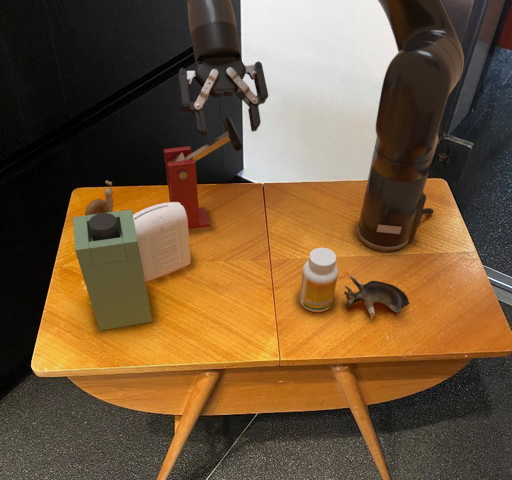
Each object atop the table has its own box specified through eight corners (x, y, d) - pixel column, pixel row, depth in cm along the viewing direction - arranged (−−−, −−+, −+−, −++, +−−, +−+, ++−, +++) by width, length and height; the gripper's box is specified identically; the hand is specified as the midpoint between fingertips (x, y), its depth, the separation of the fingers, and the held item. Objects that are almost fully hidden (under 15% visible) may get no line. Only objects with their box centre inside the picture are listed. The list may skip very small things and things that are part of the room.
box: (146, 290, 88) (131, 209, 76) (152, 322, 84) (137, 241, 72) (96, 298, 87) (72, 217, 75) (99, 331, 83) (74, 250, 70)
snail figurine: (133, 244, 95) (122, 186, 86) (108, 265, 92) (94, 206, 83) (110, 233, 97) (96, 174, 88) (84, 253, 94) (67, 194, 84)
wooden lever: (234, 124, 91) (227, 113, 90) (245, 150, 86) (238, 138, 85) (173, 161, 94) (165, 151, 92) (180, 188, 89) (172, 178, 87)
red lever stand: (204, 210, 102) (200, 143, 91) (210, 231, 98) (207, 162, 88) (161, 216, 101) (152, 148, 90) (166, 237, 97) (157, 168, 86)
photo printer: (183, 251, 95) (176, 190, 85) (195, 265, 92) (190, 205, 83) (128, 273, 91) (115, 212, 81) (140, 288, 88) (127, 227, 79)
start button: (119, 229, 76) (115, 211, 74) (121, 246, 74) (117, 227, 71) (92, 233, 75) (87, 214, 73) (94, 250, 73) (89, 231, 71)
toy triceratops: (351, 328, 82) (411, 319, 82) (346, 282, 80) (407, 272, 80) (345, 315, 90) (400, 306, 89) (340, 273, 88) (396, 263, 87)
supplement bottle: (293, 295, 88) (298, 249, 81) (321, 285, 90) (329, 240, 83) (309, 317, 85) (316, 272, 78) (338, 307, 87) (348, 262, 79)
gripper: (170, 22, 84) (189, 131, 85) (260, 15, 86) (276, 121, 88) (169, 44, 91) (185, 144, 93) (251, 38, 93) (266, 134, 95)
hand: (230, 132), depth 90 cm, fingers open, 8 cm apart
